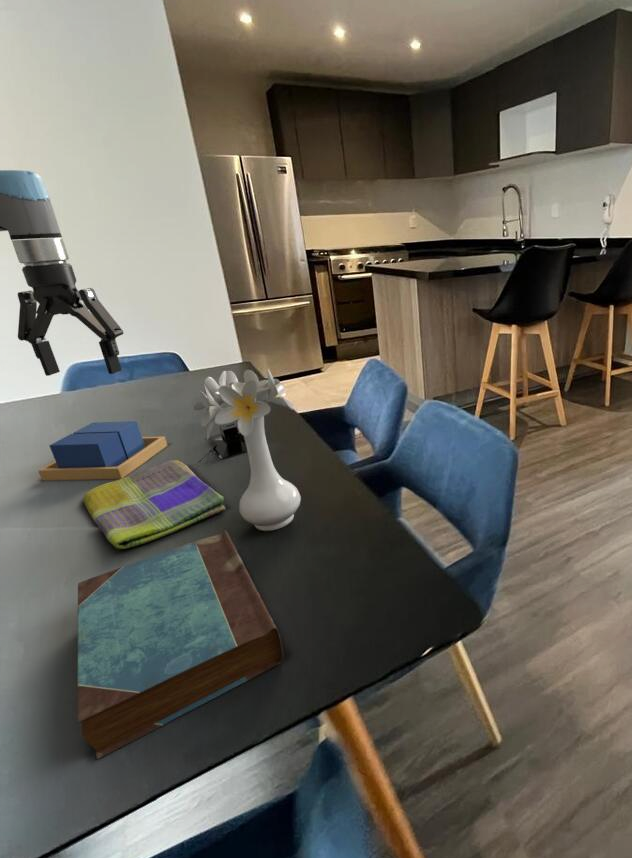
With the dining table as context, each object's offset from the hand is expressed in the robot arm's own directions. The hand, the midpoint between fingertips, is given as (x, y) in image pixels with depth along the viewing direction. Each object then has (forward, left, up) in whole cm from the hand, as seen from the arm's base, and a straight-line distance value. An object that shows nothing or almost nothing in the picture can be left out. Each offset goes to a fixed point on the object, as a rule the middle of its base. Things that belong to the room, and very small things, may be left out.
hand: (84, 373), depth 100 cm
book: (+45, -50, -19) cm, 70 cm away
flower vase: (+46, -26, -19) cm, 56 cm away
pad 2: (+2, -2, -18) cm, 18 cm away
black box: (+25, +4, -19) cm, 32 cm away
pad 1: (+2, -8, -18) cm, 20 cm away
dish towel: (+23, -21, -19) cm, 37 cm away
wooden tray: (+2, -4, -19) cm, 19 cm away
